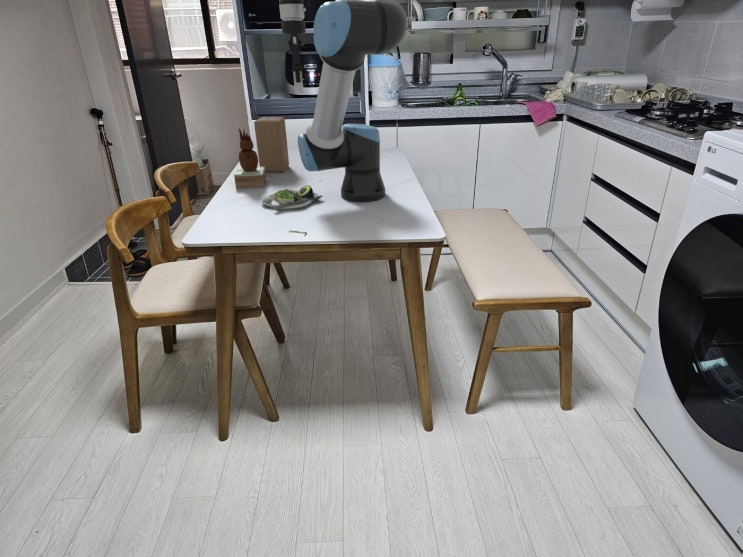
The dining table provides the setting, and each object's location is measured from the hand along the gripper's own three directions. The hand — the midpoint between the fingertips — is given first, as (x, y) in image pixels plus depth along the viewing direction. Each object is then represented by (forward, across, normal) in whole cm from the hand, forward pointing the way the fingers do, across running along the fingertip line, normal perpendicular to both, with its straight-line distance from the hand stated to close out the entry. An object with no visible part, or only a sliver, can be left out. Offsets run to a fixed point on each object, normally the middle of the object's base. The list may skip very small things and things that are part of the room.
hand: (299, 91), depth 163 cm
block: (+32, +26, +13) cm, 43 cm away
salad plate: (+33, -18, +6) cm, 38 cm away
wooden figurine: (+27, +6, +20) cm, 34 cm away
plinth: (+32, +6, +20) cm, 38 cm away
